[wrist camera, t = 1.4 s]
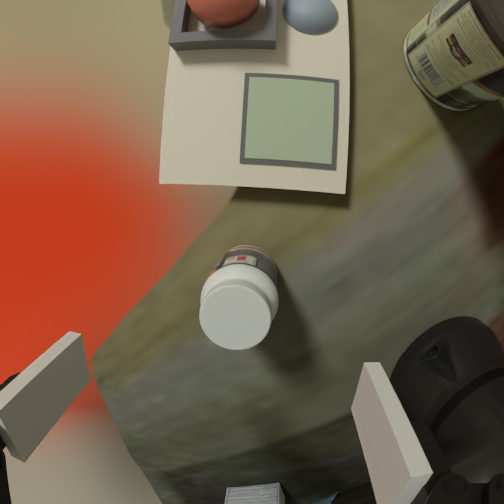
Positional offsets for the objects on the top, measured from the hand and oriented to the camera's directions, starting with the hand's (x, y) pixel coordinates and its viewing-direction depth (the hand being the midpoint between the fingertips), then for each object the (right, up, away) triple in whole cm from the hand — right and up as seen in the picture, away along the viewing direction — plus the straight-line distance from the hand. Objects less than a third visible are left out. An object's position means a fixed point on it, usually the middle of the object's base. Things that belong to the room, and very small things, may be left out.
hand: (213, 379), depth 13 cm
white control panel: (+2, +22, +12) cm, 25 cm away
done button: (-1, +27, +8) cm, 29 cm away
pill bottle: (+1, +4, +17) cm, 17 cm away
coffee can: (+21, +25, +10) cm, 34 cm away
